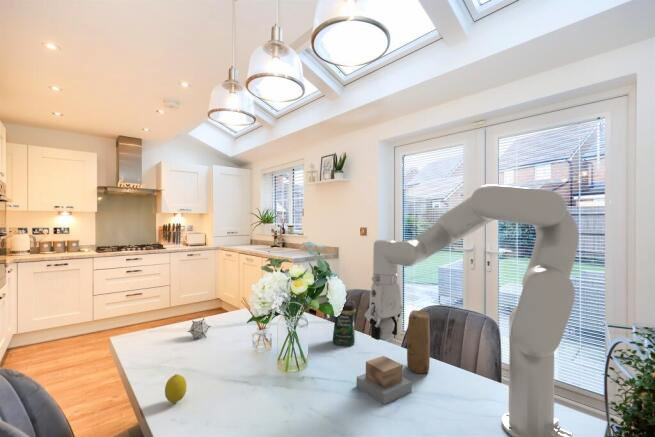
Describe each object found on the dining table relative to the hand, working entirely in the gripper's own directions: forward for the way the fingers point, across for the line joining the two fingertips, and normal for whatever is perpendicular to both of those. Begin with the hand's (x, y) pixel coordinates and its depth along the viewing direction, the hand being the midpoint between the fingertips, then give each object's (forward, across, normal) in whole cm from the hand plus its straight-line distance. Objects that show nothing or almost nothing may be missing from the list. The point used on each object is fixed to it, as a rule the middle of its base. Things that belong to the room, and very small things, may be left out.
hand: (384, 335), depth 97 cm
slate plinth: (+17, 0, 0) cm, 17 cm away
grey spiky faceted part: (+17, -37, +76) cm, 86 cm away
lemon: (+17, -54, +28) cm, 64 cm away
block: (+17, +21, +3) cm, 27 cm away
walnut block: (+14, 0, 0) cm, 14 cm away
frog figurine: (+1, 0, 0) cm, 1 cm away
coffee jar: (+17, +13, +36) cm, 42 cm away
